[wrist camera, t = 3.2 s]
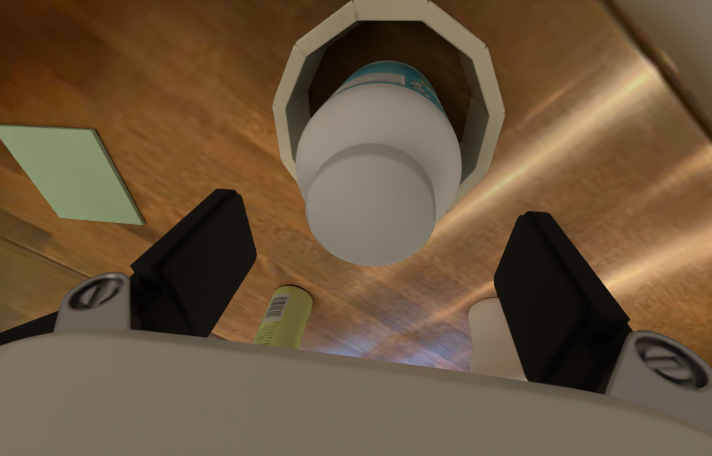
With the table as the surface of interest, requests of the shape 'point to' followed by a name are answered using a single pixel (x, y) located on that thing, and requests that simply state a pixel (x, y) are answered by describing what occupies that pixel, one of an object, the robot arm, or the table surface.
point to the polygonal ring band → (395, 5)
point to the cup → (493, 342)
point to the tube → (285, 318)
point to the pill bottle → (378, 165)
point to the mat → (72, 172)
